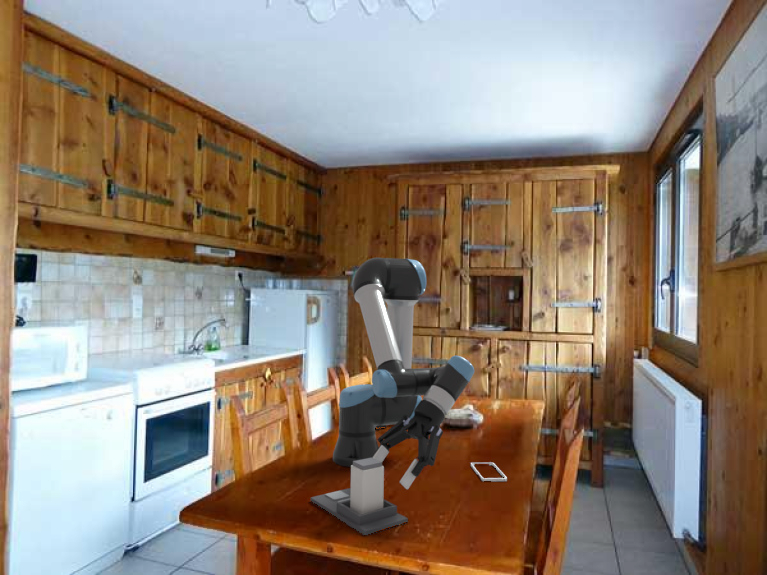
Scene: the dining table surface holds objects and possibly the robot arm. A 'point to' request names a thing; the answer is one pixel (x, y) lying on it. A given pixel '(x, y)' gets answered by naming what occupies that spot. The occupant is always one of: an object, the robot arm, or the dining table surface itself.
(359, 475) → the plug
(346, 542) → the dining table surface
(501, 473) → the silver rectangular frame
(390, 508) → the grey socket base plate
